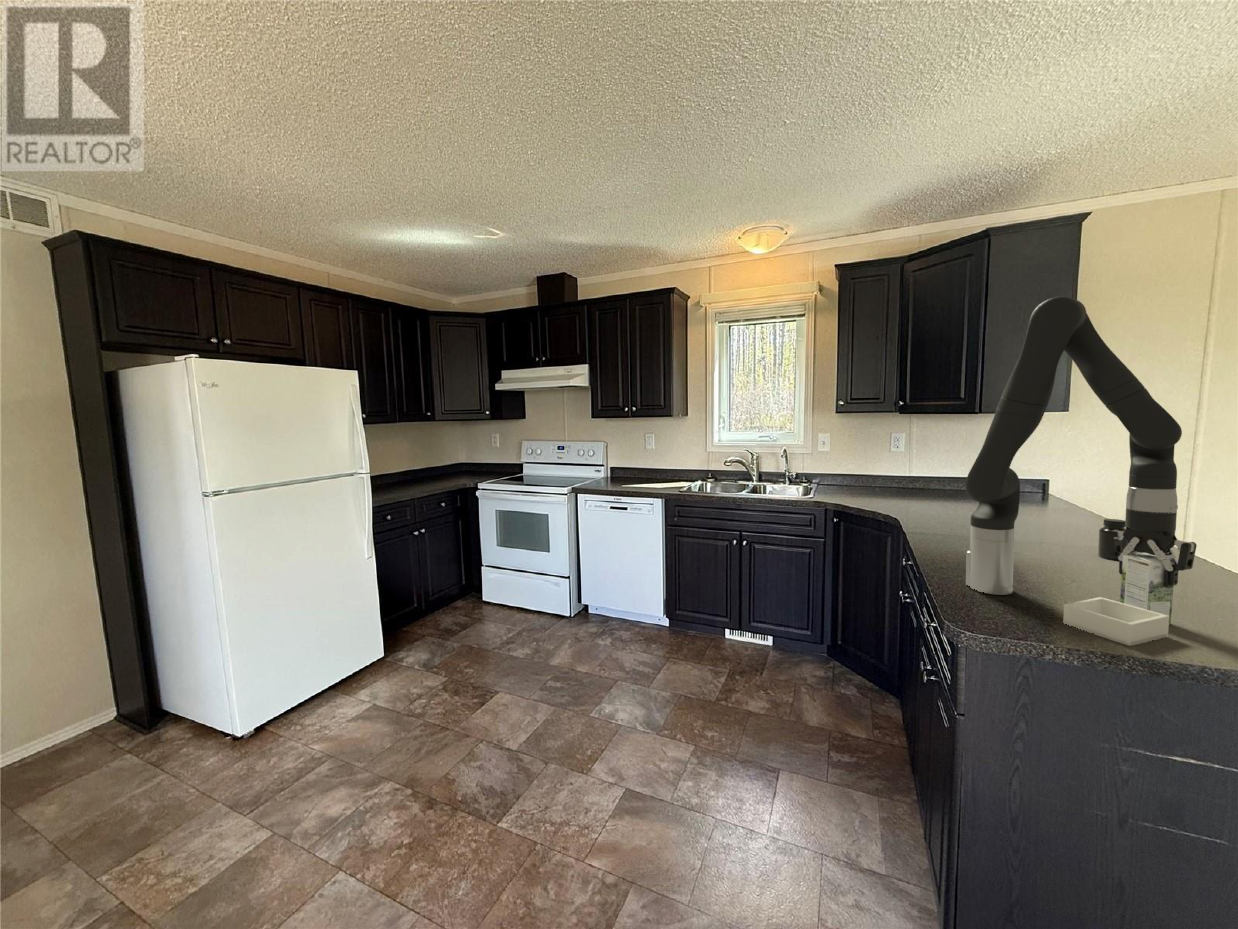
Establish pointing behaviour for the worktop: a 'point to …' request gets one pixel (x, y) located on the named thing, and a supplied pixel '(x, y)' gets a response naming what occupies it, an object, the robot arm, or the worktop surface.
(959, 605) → the worktop surface
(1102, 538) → the supplement bottle
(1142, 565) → the syrup box
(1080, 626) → the bin
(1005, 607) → the worktop surface
